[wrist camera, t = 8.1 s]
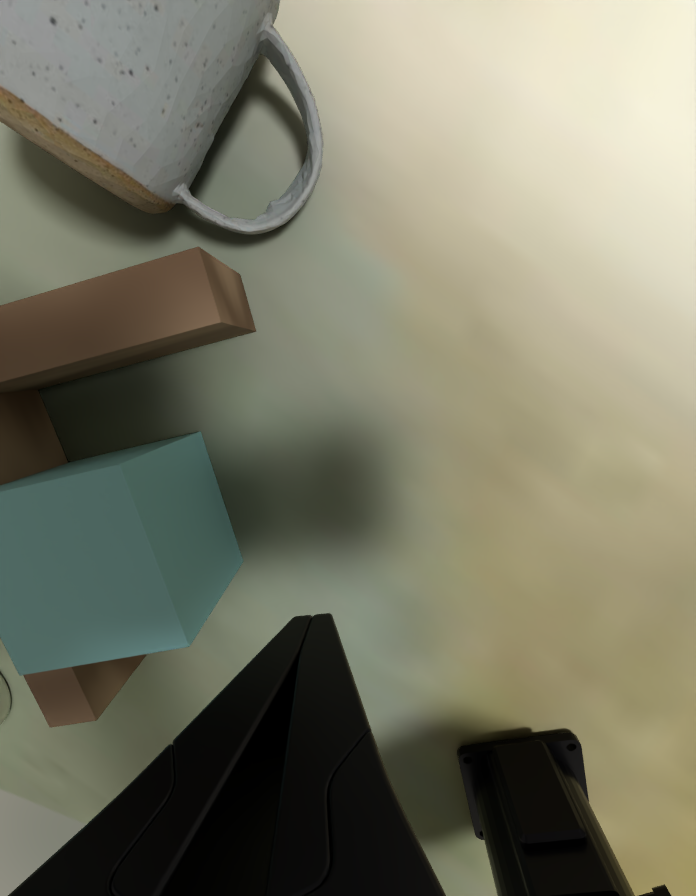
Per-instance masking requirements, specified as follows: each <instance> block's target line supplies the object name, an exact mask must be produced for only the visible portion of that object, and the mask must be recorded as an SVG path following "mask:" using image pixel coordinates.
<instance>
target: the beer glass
mask: <svg viewBox="0 0 696 896" xmlns="http://www.w3.org/2000/svg"><path fill="white" fill-rule="evenodd" d="M10 706H11V696H10V691H9V688H8V686H7V684H6V682H5V680H4V678H3V677H2V675H1V674H0V725H1V724H2V723H3V721H4V720H5V719H6V717H7V716H8V713H9V711H10Z"/></svg>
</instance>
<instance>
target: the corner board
mask: <svg viewBox="0 0 696 896" xmlns="http://www.w3.org/2000/svg"><path fill="white" fill-rule="evenodd" d="M255 331H256V329H255V325H254V322H253V318H252V315H251V311H250V308H249V304H248V301H247V297H246V293H245V290H244V286H243V283H242V279H241V276H240V274H239V273H237V272H236V271H234V270H233V269H231V268H230V267H228V266H227V265H225V264H224V263H222V262H221V261H219V260H218V259H216V258H215V257H213V256H212V255H210V254H209V253H207V252H206V251H204V250H203V249H201V248H200V247H196V248H192V249H189V250H186V251H182V252H179V253H176V254H172V255H169V256H165V257H162V258H159V259H155V260H152V261H149V262H145V263H142V264H139V265H135V266H132V267H129V268H125V269H122V270H119V271H115V272H112V273H108V274H105V275H102V276H98V277H95V278H92V279H88V280H85V281H82V282H78V283H75V284H72V285H68V286H65V287H62V288H58V289H55V290H51V291H48V292H45V293H41V294H38V295H35V296H31V297H28V298H25V299H21V300H18V301H15V302H11V303H8V304H5V305H1V306H0V485H3V484H6V483H9V482H12V481H15V480H18V479H21V478H24V477H27V476H30V475H33V474H36V473H39V472H42V471H45V470H48V469H51V468H54V467H57V466H60V465H63V464H66V463H68V461H67V458H66V456H65V454H64V451H63V449H62V446H61V444H60V442H59V439H58V437H57V435H56V432H55V430H54V427H53V425H52V423H51V420H50V418H49V415H48V413H47V411H46V408H45V406H44V403H43V401H42V399H41V396H40V394H39V391H38V389H42V388H45V387H49V386H53V385H57V384H60V383H64V382H68V381H72V380H75V379H79V378H83V377H87V376H90V375H94V374H98V373H102V372H105V371H109V370H113V369H117V368H120V367H124V366H128V365H132V364H135V363H139V362H143V361H147V360H150V359H154V358H158V357H162V356H165V355H169V354H173V353H177V352H180V351H184V350H188V349H192V348H195V347H199V346H203V345H207V344H210V343H214V342H218V341H222V340H225V339H229V338H233V337H237V336H240V335H244V334H248V333H252V332H255ZM146 655H147V654H143V655H137V656H131V657H125V658H120V659H114V660H108V661H102V662H96V663H90V664H84V665H79V666H73V667H67V668H61V669H55V670H49V671H43V672H38V673H32V674H26V675H23V676H24V678H25V680H26V682H27V684H28V685H29V687H30V689H31V691H32V693H33V695H34V697H35V699H36V701H37V703H38V705H39V707H40V709H41V711H42V713H43V715H44V717H45V719H46V721H47V723H48V725H49V727H57V726H63V725H70V724H76V723H83V722H89V721H96V720H97V719H98V718H99V716H100V715H101V714H102V713H103V711H104V710H105V709H106V707H107V706H108V705H109V703H110V702H111V701H112V699H113V698H114V697H115V695H116V694H117V693H118V692H119V690H120V689H121V688H122V686H123V685H124V684H125V682H126V681H127V680H128V678H129V677H130V676H131V674H132V673H133V672H134V671H135V669H136V668H137V667H138V665H139V664H140V663H141V661H142V660H143V659H144V657H145V656H146Z"/></svg>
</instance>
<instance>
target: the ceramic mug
mask: <svg viewBox="0 0 696 896" xmlns="http://www.w3.org/2000/svg"><path fill="white" fill-rule="evenodd" d="M279 3H280V0H0V121H1V122H2V123H4V124H5V125H7V126H8V127H10V128H11V129H13V130H14V131H16V132H17V133H19V134H20V135H22V136H23V137H25V138H27V139H28V140H30V141H31V142H33V143H34V144H36V145H37V146H39V147H40V148H42V149H43V150H45V151H46V152H48V153H49V154H51V155H53V156H54V157H56V158H57V159H59V160H60V161H62V162H63V163H65V164H66V165H68V166H69V167H71V168H72V169H74V170H76V171H77V172H79V173H81V174H82V175H84V176H85V177H87V178H89V179H90V180H92V181H93V182H95V183H97V184H98V185H100V186H101V187H103V188H105V189H106V190H108V191H109V192H111V193H112V194H114V195H116V196H117V197H119V198H121V199H122V200H124V201H126V202H127V203H129V204H130V205H132V206H134V207H136V208H138V209H140V210H142V211H144V212H147V213H150V214H156V213H163V212H167V211H169V210H170V209H172V207H173V206H174V205H175V204H176V203H181V204H184V205H185V206H187V207H188V208H189V209H190V210H192V211H193V212H195V213H196V214H197V215H198V216H200V217H202V218H203V219H205V220H207V221H209V222H211V223H213V224H215V225H218V226H220V227H222V228H225V229H227V230H230V231H233V232H237V233H243V234H260V233H265V232H268V231H271V230H273V229H275V228H277V227H279V226H281V225H283V224H285V223H286V222H288V221H289V220H290V219H291V218H292V217H293V216H294V215H295V214H296V213H297V212H298V211H299V210H300V209H301V207H302V206H303V205H304V204H305V202H306V201H307V199H308V197H309V196H310V194H311V193H312V191H313V189H314V187H315V185H316V182H317V180H318V178H319V175H320V171H321V168H322V153H323V136H322V129H321V124H320V119H319V115H318V110H317V107H316V103H315V98H314V96H313V94H312V92H311V89H310V87H309V85H308V83H307V81H306V79H305V77H304V75H303V73H302V70H301V68H300V66H299V65H298V63H297V61H296V59H295V57H294V56H293V54H292V52H291V51H290V49H289V48H288V46H287V45H286V44H285V42H284V41H283V39H282V38H281V36H280V35H279V33H278V31H277V30H276V29H275V28H274V27H273V24H274V21H275V19H276V17H277V13H278V9H279ZM260 54H263V55H264V56H265V57H267V58H268V59H269V60H270V62H271V64H272V65H273V66H274V68H275V69H276V70H277V71H278V73H279V74H280V76H281V77H282V79H283V80H284V82H285V84H286V85H287V87H288V89H289V90H290V92H291V94H292V96H293V98H294V101H295V103H296V105H297V107H298V109H299V111H300V113H301V116H302V119H303V123H304V127H305V130H306V135H307V144H308V152H307V155H306V159H305V163H304V165H303V167H302V168H301V170H300V171H299V173H298V175H297V176H296V178H295V179H294V181H293V182H292V184H291V185H290V186H289V188H288V189H287V191H286V192H285V193H284V194H283V195H282V196H281V197H280V198H279V199H278V200H275V201H271V202H270V203H269V205H268V207H267V209H266V212H265V213H263V214H261V215H260V216H258V217H257V218H256V219H255V220H252V219H240V218H229V217H227V216H226V215H224V214H222V213H220V212H218V211H216V210H214V209H212V208H210V207H208V206H206V205H204V204H203V203H202V202H200V201H199V200H198V199H196V198H194V197H193V196H192V195H191V193H190V191H189V187H190V185H191V184H192V182H193V180H194V178H195V176H196V174H197V172H198V171H199V169H200V167H201V165H202V164H203V160H204V158H205V155H206V153H207V151H208V149H209V148H210V146H211V144H212V142H213V140H214V136H215V134H216V132H217V131H218V128H219V126H220V125H221V123H222V122H223V119H224V117H225V116H226V114H227V113H228V111H229V109H230V106H231V105H232V103H233V101H234V100H235V98H236V96H237V94H238V93H239V91H240V89H241V87H242V85H243V84H244V82H245V79H247V78H248V76H249V72H250V71H251V69H252V67H253V65H254V63H255V61H256V59H258V57H259V55H260Z"/></svg>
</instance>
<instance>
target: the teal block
mask: <svg viewBox="0 0 696 896" xmlns="http://www.w3.org/2000/svg"><path fill="white" fill-rule="evenodd" d="M242 563H243V559H242V556H241V553H240V550H239V547H238V544H237V541H236V538H235V534H234V531H233V528H232V525H231V522H230V519H229V516H228V513H227V510H226V507H225V504H224V501H223V498H222V495H221V492H220V489H219V486H218V483H217V480H216V477H215V474H214V471H213V468H212V465H211V462H210V459H209V456H208V453H207V449H206V446H205V443H204V440H203V437H202V434H201V431H200V432H195V433H191V434H187V435H183V436H179V437H174V438H170V439H166V440H162V441H157V442H153V443H149V444H145V445H140V446H136V447H132V448H128V449H124V450H119V451H115V452H111V453H107V454H102V455H98V456H94V457H90V458H86V459H81V460H77V461H73V462H69V463H66V464H63V465H60V466H57V467H54V468H51V469H48V470H45V471H42V472H39V473H36V474H33V475H30V476H27V477H24V478H21V479H18V480H15V481H12V482H9V483H6V484H3V485H0V638H1V640H2V642H3V644H4V646H5V648H6V650H7V651H8V653H9V655H10V657H11V659H12V661H13V663H14V665H15V667H16V669H17V671H18V673H19V675H26V674H32V673H38V672H43V671H49V670H55V669H61V668H67V667H73V666H79V665H84V664H90V663H96V662H102V661H108V660H114V659H120V658H125V657H131V656H137V655H143V654H149V653H155V652H161V651H166V650H172V649H178V648H184V647H189V646H190V645H191V643H192V642H193V640H194V638H195V637H196V635H197V634H198V632H199V631H200V629H201V627H202V626H203V624H204V623H205V621H206V620H207V618H208V616H209V615H210V613H211V612H212V610H213V609H214V607H215V605H216V604H217V602H218V601H219V599H220V598H221V596H222V594H223V593H224V591H225V590H226V588H227V587H228V585H229V583H230V582H231V580H232V579H233V577H234V575H235V574H236V572H237V571H238V569H239V568H240V566H241V564H242Z"/></svg>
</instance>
